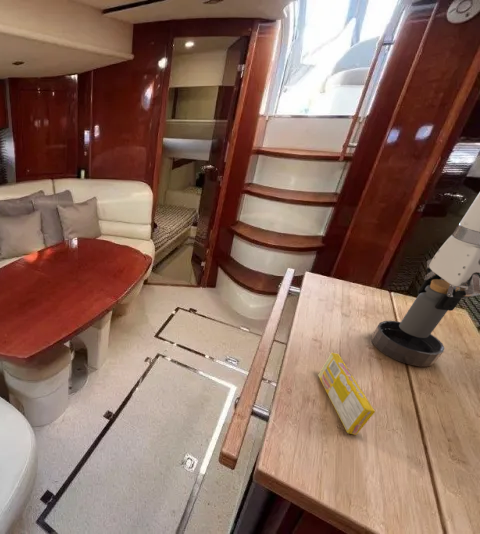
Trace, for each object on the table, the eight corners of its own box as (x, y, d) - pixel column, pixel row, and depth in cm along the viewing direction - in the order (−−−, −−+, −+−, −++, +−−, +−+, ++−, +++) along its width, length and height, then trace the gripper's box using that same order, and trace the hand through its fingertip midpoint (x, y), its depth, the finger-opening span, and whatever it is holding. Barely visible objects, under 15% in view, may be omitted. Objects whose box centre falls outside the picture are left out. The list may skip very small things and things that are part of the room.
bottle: (400, 320, 85) (430, 275, 78) (430, 331, 81) (464, 284, 74) (396, 330, 82) (427, 283, 75) (427, 341, 78) (462, 293, 71)
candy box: (358, 436, 64) (376, 412, 60) (346, 433, 65) (363, 409, 61) (326, 376, 78) (339, 353, 74) (317, 374, 78) (329, 351, 74)
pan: (414, 338, 89) (423, 325, 86) (446, 372, 78) (457, 358, 76) (361, 330, 92) (369, 317, 90) (385, 362, 81) (394, 348, 79)
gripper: (539, 255, 60) (480, 325, 69) (470, 223, 74) (429, 285, 83) (489, 251, 62) (438, 320, 71) (431, 221, 76) (395, 281, 85)
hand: (434, 300), depth 77 cm, fingers closed on bottle, 5 cm apart
